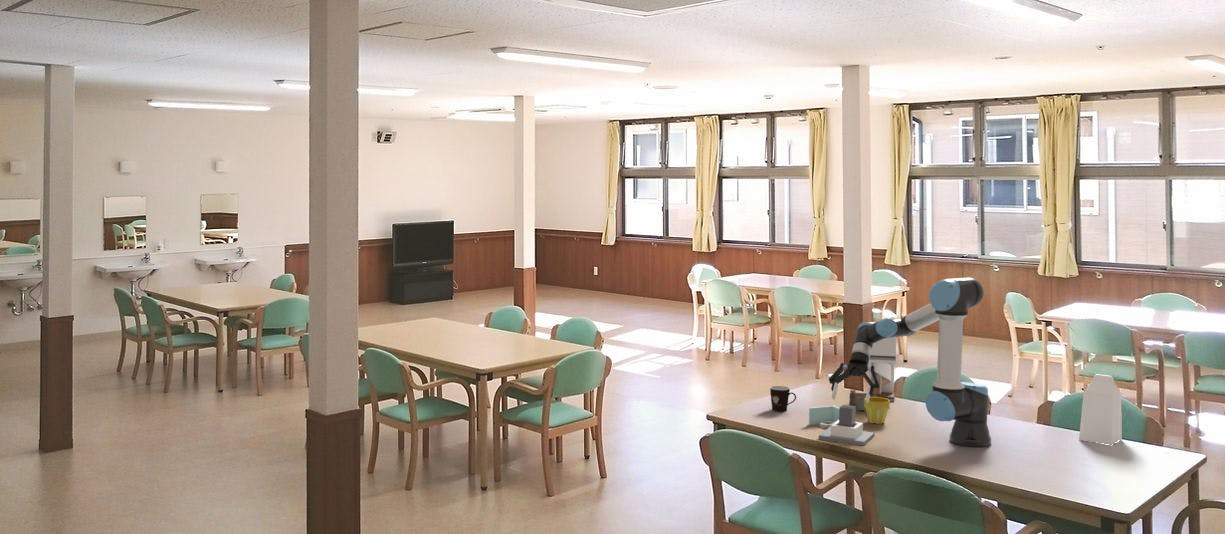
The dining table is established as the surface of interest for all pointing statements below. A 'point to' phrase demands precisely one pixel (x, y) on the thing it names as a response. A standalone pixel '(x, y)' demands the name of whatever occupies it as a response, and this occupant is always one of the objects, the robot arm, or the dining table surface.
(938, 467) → the dining table surface
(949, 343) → the robot arm
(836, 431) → the socket
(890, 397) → the white stand
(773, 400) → the coffee mug
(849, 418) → the plug
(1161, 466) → the dining table surface
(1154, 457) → the dining table surface
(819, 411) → the right angle wall
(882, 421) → the plant pot
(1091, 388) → the milk
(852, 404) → the ruin model on sheet
